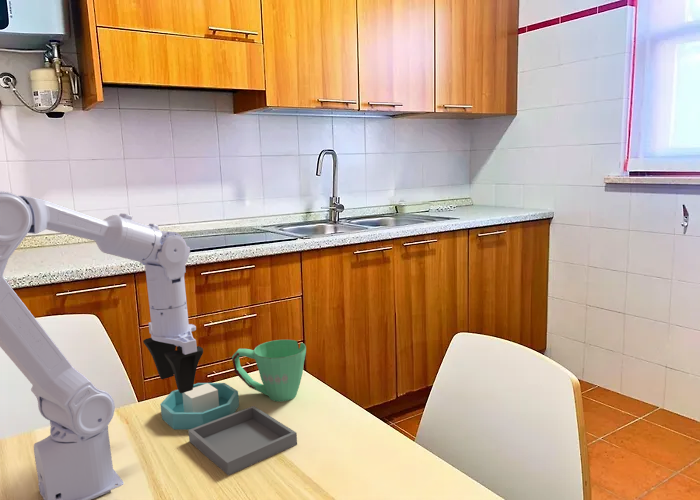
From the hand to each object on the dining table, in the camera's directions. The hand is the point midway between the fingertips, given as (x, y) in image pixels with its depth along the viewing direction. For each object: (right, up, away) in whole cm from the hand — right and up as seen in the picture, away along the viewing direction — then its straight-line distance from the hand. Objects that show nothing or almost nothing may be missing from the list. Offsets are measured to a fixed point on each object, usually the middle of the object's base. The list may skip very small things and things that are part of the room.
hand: (176, 383), depth 91 cm
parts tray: (+11, -10, -2) cm, 15 cm away
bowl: (+2, -8, +9) cm, 12 cm away
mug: (+14, -6, +15) cm, 21 cm away
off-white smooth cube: (+2, -7, +9) cm, 12 cm away
